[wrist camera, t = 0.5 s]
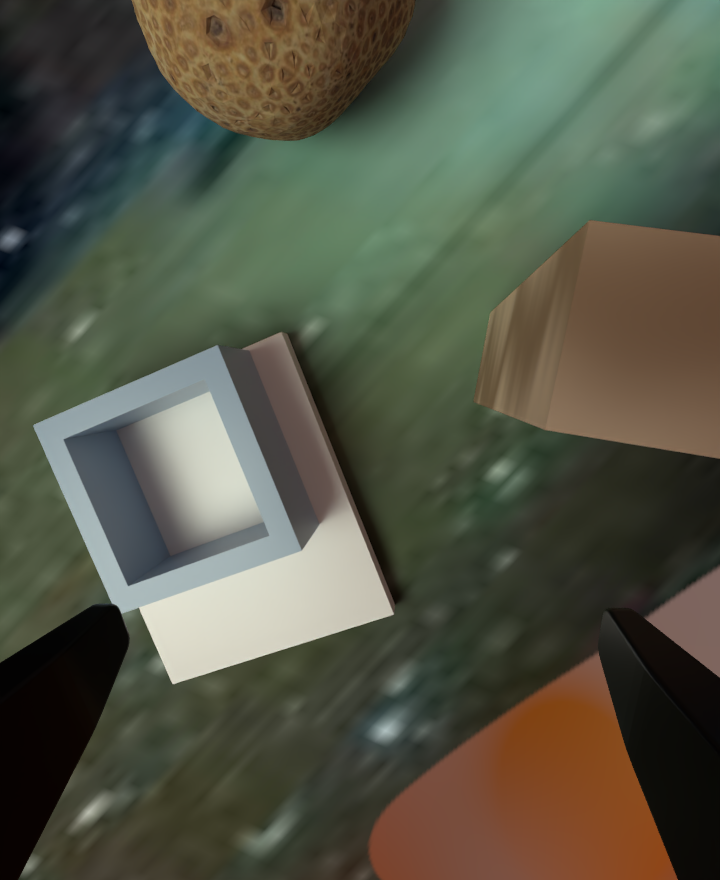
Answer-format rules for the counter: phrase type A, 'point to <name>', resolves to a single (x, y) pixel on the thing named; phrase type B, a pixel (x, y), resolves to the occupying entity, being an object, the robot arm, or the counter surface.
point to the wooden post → (614, 340)
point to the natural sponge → (272, 57)
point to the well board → (218, 508)
